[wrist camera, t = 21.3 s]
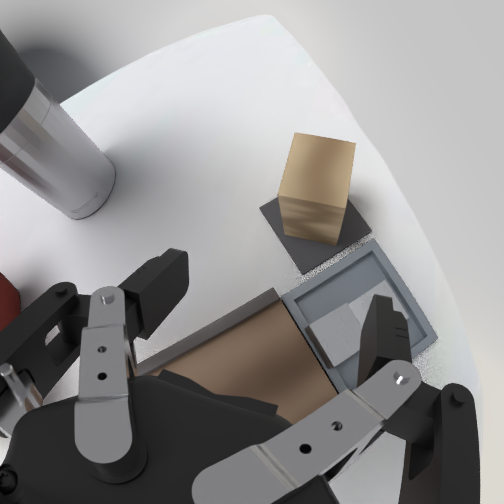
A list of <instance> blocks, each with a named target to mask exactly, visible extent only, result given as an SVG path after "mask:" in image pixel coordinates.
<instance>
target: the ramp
mask: <svg viewBox="0 0 504 504" xmlns="http://www.w3.org/2000/svg"><path fill="white" fill-rule="evenodd" d="M137 369H138V376H142V375H155V376H158V375H159V374H160V372H161V371H162V370H163V369H166V370H168V371H171V372H174V373H176V374H179V375H182V376H185V377H187V378H190V379H191V380H193V381H195V382H196V383H198V384H199V385H201V386H203V387H204V388H206V389H207V390H209V391H211V392H212V393H215V394H220V395H230V396H241V397H250V398H253V399H257V400H260V401H264V402H268V403H272V404H276V405H278V409H277V413H276V414H278V415H280V416H281V417H283V418H285V419H286V420H288V421H289V422H290V423H291V424H293V425H294V424H296V423H298V422H299V421H301V420H302V419H304V418H305V417H307V416H308V415H310V414H311V413H313V412H314V411H316V410H317V409H319V408H320V407H322V406H323V405H325V404H326V403H327V402H329V401H330V400H332V399H333V398H334V397H336V396H337V395H338V394H337V392H336V391H335V389H334V387H333V386H332V384H331V382H330V381H329V379H328V377H327V376H326V374H325V373H324V371H323V369H322V368H321V366H320V364H319V363H318V361H317V359H316V358H315V356H314V354H313V353H312V351H311V349H310V348H309V346H308V344H307V343H306V341H305V339H304V338H303V336H302V334H301V333H300V331H299V330H298V328H297V326H296V325H295V323H294V321H293V320H292V318H291V316H290V315H289V313H288V311H287V310H286V308H285V306H284V305H283V303H282V301H281V300H280V298H279V296H278V294H277V293H276V291H275V289H274V288H271V289H269V290H268V291H266V292H264V293H263V294H261V295H259V296H258V297H256V298H254V299H253V300H251V301H249V302H247V303H246V304H244V305H242V306H241V307H239V308H237V309H235V310H234V311H232V312H230V313H228V314H227V315H225V316H223V317H222V318H220V319H218V320H216V321H215V322H213V323H211V324H209V325H207V326H206V327H204V328H202V329H200V330H199V331H197V332H195V333H193V334H191V335H190V336H188V337H186V338H184V339H183V340H181V341H179V342H177V343H175V344H173V345H172V346H170V347H168V348H166V349H164V350H163V351H161V352H159V353H157V354H155V355H153V356H151V357H150V358H148V359H146V360H144V361H142V362H140V363H138V364H137Z"/></svg>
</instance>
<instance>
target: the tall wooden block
mask: <svg viewBox="0 0 504 504" xmlns="http://www.w3.org/2000/svg"><path fill="white" fill-rule="evenodd" d="M355 145H356V143H353V142H348V141H342V140H337V139H332V138H326V137H320V136H314V135H308V134H302V133H295V134H294V137H293V141H292V145H291V148H290V152H289V156H288V159H287V163H286V166H285V170H284V174H283V177H282V181H281V184H280V188H279V191H278V200H279V205H280V211H281V216H282V222H283V227H284V233H285V235H288V236H292V237H297V238H302V239H307V240H311V241H316V242H320V243H325V244H330V245H334V246H336V245H337V241H338V237H339V233H340V229H341V225H342V221H343V217H344V213H345V209H346V204H347V198H348V192H349V186H350V179H351V173H352V166H353V159H354V152H355Z"/></svg>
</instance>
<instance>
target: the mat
mask: <svg viewBox="0 0 504 504" xmlns="http://www.w3.org/2000/svg"><path fill="white" fill-rule="evenodd" d="M260 210H261V212H262V213H263V215H264V216H265V218H266V219H267V221H268V222H269V224H270V225H271V227H272V228H273V230H274V231H275V233H276V234H277V236H278V238H279V239H280V241H281V242H282V244H283V245H284V247H285V248H286V250H287V251H288V253H289V254H290V256H291V258H292V259H293V261H294V262H295V264H296V265H297V267H298V268H299V270H300V272H301V273H302V275H303V274H305V273H306V272H308V271H310V270H311V269H313V268H315V267H316V266H318V265H319V264H321V263H323V262H324V261H326V260H327V259H329V258H331V257H332V256H334V255H335V254H337V253H339V252H340V251H342V250H343V249H345V248H346V247H348V246H350V245H351V244H353V243H354V242H356V241H357V240H359V239H360V238H362V237H364V236H365V235H367V234H368V233H370V232H371V231H372V230H371V229H370V227H369V226H368V225H367V223H366V222H365V221H364V219H363V218H362V217H361V215H360V214H359V213H358V211H357V210H356V209H355V207H354V206H353V205H352V203H351V202H350V201H349V200H348V198H347V204H346V209H345V213H344V217H343V221H342V225H341V229H340V233H339V237H338V241H337V245H336V246H334V245H330V244H325V243H320V242H316V241H311V240H307V239H302V238H297V237H292V236H288V235H285V233H284V227H283V222H282V216H281V211H280V205H279V200H278V197H277V198H275V199H274V200H272V201H270V202H268V203H267V204H265V205H263V206H261V207H260Z"/></svg>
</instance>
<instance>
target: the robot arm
mask: <svg viewBox="0 0 504 504" xmlns="http://www.w3.org/2000/svg"><path fill="white" fill-rule="evenodd" d="M0 168H2V169H3V170H4V171H6V172H7V173H8V174H10V175H11V176H12V177H14V178H15V179H16V180H18V181H19V182H20V183H22V184H23V185H24V186H26V187H27V188H28V189H30V190H31V191H33V192H34V193H35V194H37V195H38V196H40V197H41V198H42V199H44V200H45V201H47V202H48V203H49V204H51V205H52V206H54V207H55V208H57V209H58V210H59V211H61V212H62V213H64V214H65V215H67V216H68V217H70V218H73V219H81V218H84V217H87V216H89V215H91V214H92V213H94V212H95V211H96V210H97V209H99V208H100V207H101V205H102V204H103V203H104V202H105V201H106V199H107V198H108V196H109V194H110V192H111V190H112V188H113V185H114V182H115V169H114V166H113V164H112V163H111V161H110V160H109V159H108V158H107V157H106V156H105V155H104V154H103V153H102V152H101V151H100V149H99V148H98V147H97V146H96V145H95V144H94V143H93V142H92V140H91V139H90V138H89V137H88V136H87V135H86V134H85V133H84V132H83V131H82V129H81V128H80V127H79V126H78V125H77V124H76V123H75V122H74V121H73V119H72V118H71V117H70V116H69V115H68V114H67V113H66V112H65V110H64V109H63V108H62V107H61V106H60V105H59V104H58V103H57V102H56V100H55V99H54V98H53V97H52V96H51V95H50V94H49V92H48V91H47V90H46V89H45V88H44V87H43V85H42V84H41V83H40V82H39V81H38V80H37V78H36V77H35V76H34V75H33V74H32V72H31V71H30V70H29V69H28V68H27V66H26V65H25V63H24V62H23V60H22V59H21V57H20V56H19V54H18V53H17V52H16V50H15V49H14V47H13V46H12V45H11V44H10V42H9V41H8V40H7V38H6V37H5V36H4V34H3V33H2V31H1V30H0ZM188 286H189V266H188V254H187V252H186V251H181V250H177V249H173V248H170V249H168V250H167V251H166V252H165V253H164V254H162V255H161V256H160V257H159V256H157V257H155V258H152V259H150V260H148V261H147V262H145V263H144V264H143V265H142V266H141V268H138V269H137V270H136V271H135V272H134V273H133V274H131V275H130V276H129V277H128V278H127V279H126V280H125V281H123V282H122V283H121V284H120V285H119V286H118V287H114V286H107V287H103V288H100V289H98V290H96V291H95V292H94V293H93V294H92V295H82V294H78V292H77V288H76V286H75V284H73V283H70V282H61V283H58V284H55V285H53V286H52V287H51V288H49V289H48V290H47V291H46V292H45V293H43V294H42V295H41V296H40V297H39V298H38V299H36V300H35V301H34V302H33V303H32V304H31V305H30V306H28V307H27V308H26V309H25V310H24V311H23V312H22V313H21V314H19V315H18V316H17V317H16V318H15V319H14V320H13V321H12V322H11V323H10V324H8V325H7V326H6V327H5V328H4V329H3V330H2V331H1V332H0V436H1V437H3V438H10V439H11V441H10V445H9V449H8V452H7V455H6V457H5V459H4V461H3V463H2V465H1V466H0V504H339V502H338V500H337V498H336V496H335V495H334V493H333V491H332V489H331V487H330V486H329V483H331V482H332V481H333V480H334V479H336V478H337V477H338V476H339V475H340V474H342V473H343V472H344V471H345V470H346V469H347V468H348V467H349V466H350V465H351V464H352V463H353V462H354V461H355V460H356V459H358V458H359V457H360V456H361V455H362V454H363V453H364V452H365V451H367V450H368V449H369V448H370V447H371V446H372V445H373V444H374V443H375V442H376V441H377V440H378V439H379V438H380V437H382V436H383V435H384V434H385V433H386V432H388V433H390V434H392V435H395V436H397V437H399V438H402V439H404V440H406V448H405V458H404V467H403V475H402V483H401V490H400V496H399V502H398V504H480V456H479V440H478V429H477V419H476V411H475V403H474V398H473V396H472V394H471V392H470V391H469V390H468V389H467V388H466V387H464V386H462V385H460V384H456V383H451V384H448V385H446V386H444V388H443V389H442V390H439V389H437V388H435V387H432V386H430V385H428V384H426V383H424V382H423V381H422V380H421V374H420V372H419V370H418V369H417V368H416V367H415V366H414V365H413V364H412V355H411V347H410V339H409V332H408V324H407V320H406V318H405V317H404V315H403V314H402V312H399V311H394V309H393V300H392V297H388V296H383V295H378V294H374V295H373V298H372V301H371V304H370V306H369V309H368V312H367V315H366V318H365V321H364V324H363V327H362V331H361V336H360V351H359V366H358V378H357V389H356V390H354V391H352V390H351V389H346V390H344V391H343V392H341V393H340V394H339V395H337V396H336V397H334V398H333V399H332V400H330V401H329V402H327V403H326V404H325V405H323V406H322V407H320V408H319V409H317V410H316V411H314V412H313V413H311V414H310V415H308V416H307V417H305V418H304V419H302V420H301V421H299V422H298V423H296V424H294V425H293V424H291V423H290V422H289V421H288V420H286V419H285V418H283V417H281V416H280V415H278V414H276V413H277V409H278V405H276V404H272V403H268V402H264V401H260V400H257V399H253V398H250V397H241V396H230V395H220V394H215V393H212V392H211V391H209V390H207V389H206V388H204V387H203V386H201V385H199V384H198V383H196V382H195V381H193V380H191V379H190V378H187V377H185V376H182V375H179V374H176V373H174V372H171V371H168V370H166V369H163V370H162V371H161V372H160V374H159V375H158V376H155V375H142V376H138V369H137V361H136V352H135V344H134V339H135V338H136V337H140V338H142V339H145V340H148V338H149V337H150V336H151V335H152V334H153V332H154V331H155V330H156V329H157V328H158V326H159V325H160V324H161V323H162V322H163V320H164V319H165V318H166V317H167V316H168V315H169V313H170V312H171V311H172V310H173V309H174V307H175V306H176V305H177V304H178V303H179V301H180V300H181V299H182V298H183V297H184V296H185V294H186V292H187V290H188ZM56 325H58V328H59V331H60V332H59V333H58V334H57V335H56V336H55V337H54V338H53V340H52V341H51V342H50V343H49V344H48V345H47V346H46V345H45V338H46V335H47V334H48V333H49V332H50V331H51V330H52V329H53V328H54V327H55V326H56ZM79 356H80V367H79V394H78V395H77V396H74V397H71V398H67V399H64V400H61V401H58V402H54V403H51V404H48V405H44V406H42V403H43V399H44V398H45V397H46V395H47V394H48V393H49V392H50V390H51V389H52V388H53V387H54V386H55V384H56V383H57V382H58V381H59V379H60V378H61V377H62V376H63V375H64V373H65V372H66V371H67V370H68V369H69V367H70V366H71V365H72V364H73V363H74V362H75V360H76V359H77V358H78V357H79Z"/></svg>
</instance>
